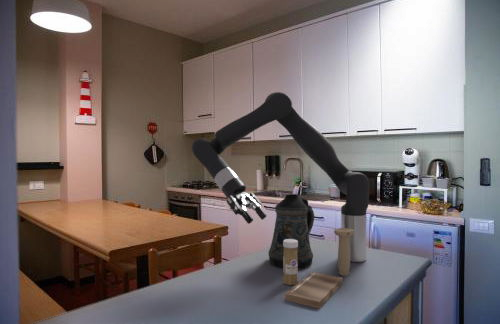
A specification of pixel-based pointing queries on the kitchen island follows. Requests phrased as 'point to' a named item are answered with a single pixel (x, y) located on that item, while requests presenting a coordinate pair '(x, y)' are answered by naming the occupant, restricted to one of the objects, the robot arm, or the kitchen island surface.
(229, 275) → the kitchen island surface
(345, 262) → the handle
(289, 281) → the sprinkles bottle
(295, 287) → the walnut board
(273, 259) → the beer stein
